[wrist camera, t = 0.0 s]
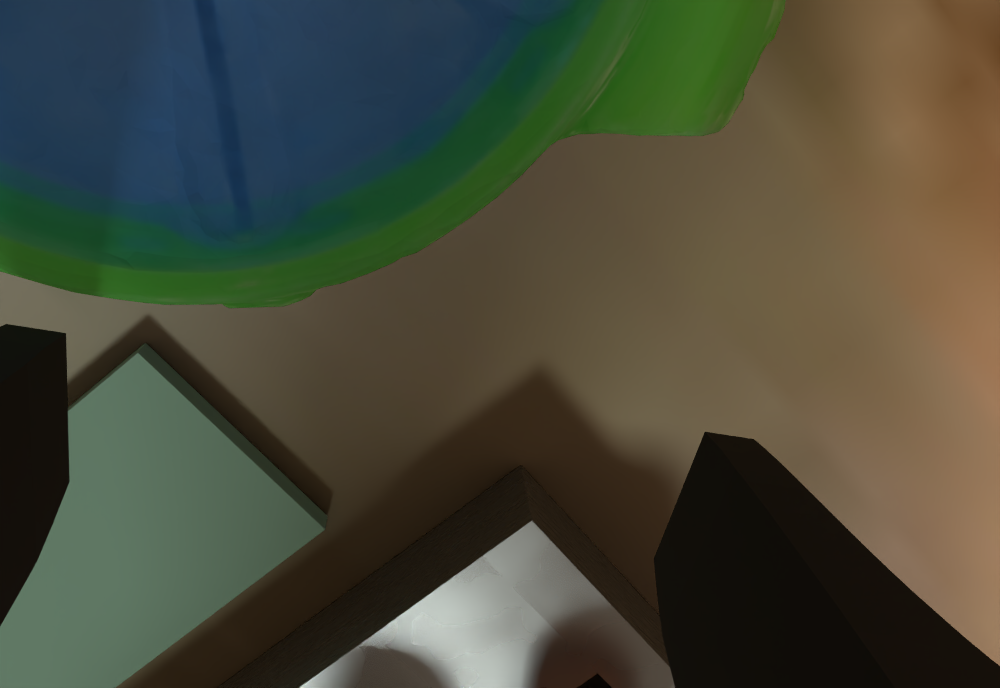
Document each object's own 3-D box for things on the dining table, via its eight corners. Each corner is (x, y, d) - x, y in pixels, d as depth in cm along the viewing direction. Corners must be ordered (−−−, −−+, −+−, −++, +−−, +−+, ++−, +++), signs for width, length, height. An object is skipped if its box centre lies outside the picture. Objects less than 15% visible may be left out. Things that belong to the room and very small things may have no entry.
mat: (44, 730, 25) (35, 747, 24) (-149, 588, 23) (-163, 604, 22) (327, 515, 23) (325, 529, 22) (145, 342, 21) (137, 353, 20)
